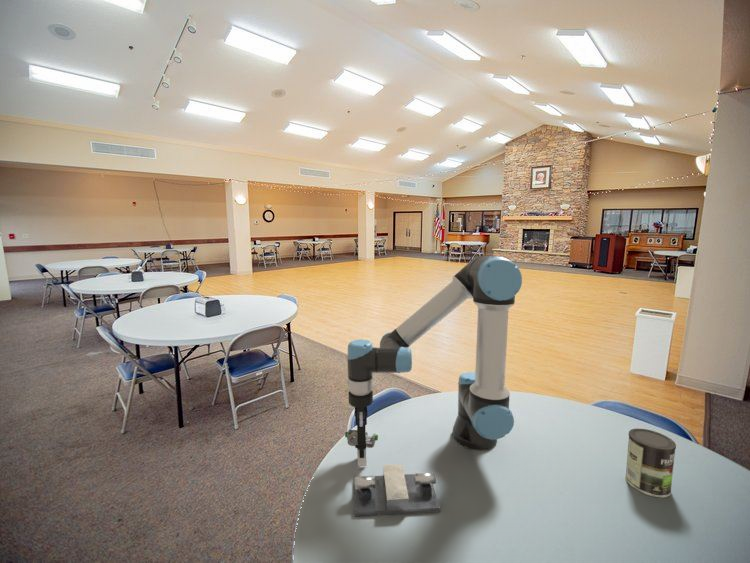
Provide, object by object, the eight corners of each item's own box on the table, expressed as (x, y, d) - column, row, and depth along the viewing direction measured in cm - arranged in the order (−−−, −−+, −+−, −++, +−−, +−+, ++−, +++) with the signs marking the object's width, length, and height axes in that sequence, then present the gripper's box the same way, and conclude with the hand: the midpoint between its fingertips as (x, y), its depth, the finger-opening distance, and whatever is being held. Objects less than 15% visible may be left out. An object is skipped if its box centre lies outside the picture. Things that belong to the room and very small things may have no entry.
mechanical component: (376, 467, 105) (376, 437, 104) (345, 463, 107) (344, 434, 106) (378, 461, 108) (378, 432, 107) (347, 457, 110) (346, 428, 109)
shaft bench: (429, 477, 101) (429, 458, 100) (440, 512, 88) (440, 490, 87) (355, 480, 100) (354, 461, 99) (354, 516, 87) (354, 494, 86)
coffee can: (678, 489, 95) (683, 442, 93) (659, 503, 90) (664, 453, 88) (636, 468, 104) (640, 424, 102) (617, 479, 99) (621, 433, 97)
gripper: (349, 379, 113) (350, 445, 116) (347, 404, 96) (349, 479, 99) (371, 379, 113) (372, 444, 116) (373, 403, 97) (375, 478, 100)
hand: (361, 460), depth 108 cm, fingers closed on mechanical component, 4 cm apart
